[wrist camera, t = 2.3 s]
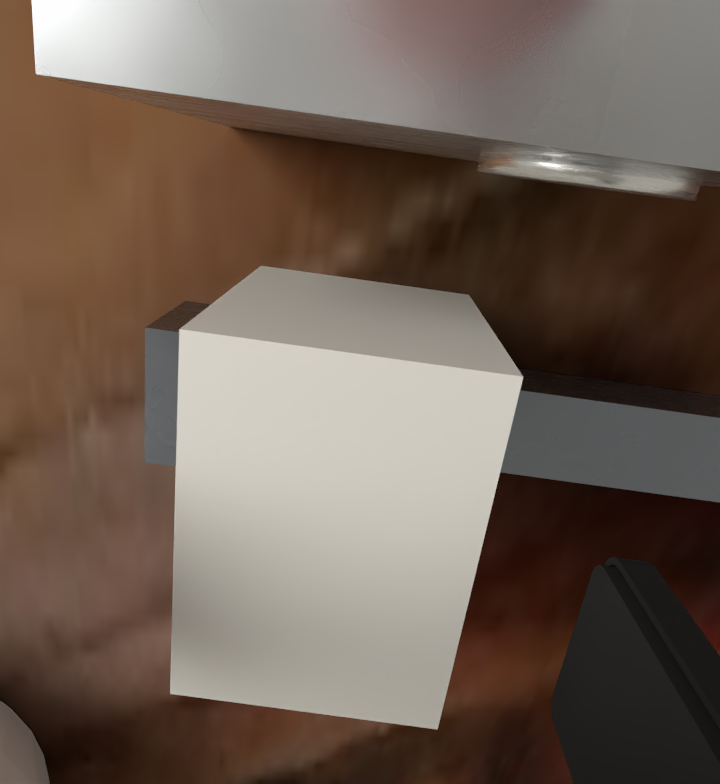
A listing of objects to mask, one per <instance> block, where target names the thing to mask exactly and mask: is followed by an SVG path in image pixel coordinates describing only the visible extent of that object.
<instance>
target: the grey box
mask: <svg viewBox="0 0 720 784" xmlns="http://www.w3.org/2000/svg"><path fill="white" fill-rule="evenodd" d="M32 13H33V31H34V50H35V68H36V74H37V75H41V76H44V77H48V78H52V79H56V80H59V81H63V82H67V83H70V84H74V85H78V86H81V87H85V88H89V89H92V90H96V91H100V92H103V93H107V94H111V95H114V96H118V97H122V98H125V99H129V100H133V101H137V102H140V103H144V104H148V105H151V106H155V107H159V108H162V109H166V110H170V111H173V112H177V113H181V114H184V115H188V116H192V117H195V118H199V119H203V120H206V121H210V122H214V123H218V124H221V125H225V126H229V127H235V128H242V129H249V130H256V131H263V132H270V133H278V134H285V135H292V136H299V137H306V138H313V139H320V140H327V141H334V142H341V143H348V144H355V145H362V146H369V147H376V148H383V149H390V150H397V151H404V152H412V153H419V154H426V155H433V156H440V157H447V158H454V159H461V160H468V161H475V162H479V163H478V168H477V171H479V172H484V173H490V174H496V175H502V176H509V177H515V178H522V179H529V180H536V181H543V182H550V183H557V184H564V185H571V186H578V187H585V188H593V189H600V190H608V191H615V192H623V193H631V194H638V195H646V196H654V197H663V198H671V199H680V200H690V201H696V198H697V195H698V192H699V189H700V186H713V187H720V0H32Z"/></svg>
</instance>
